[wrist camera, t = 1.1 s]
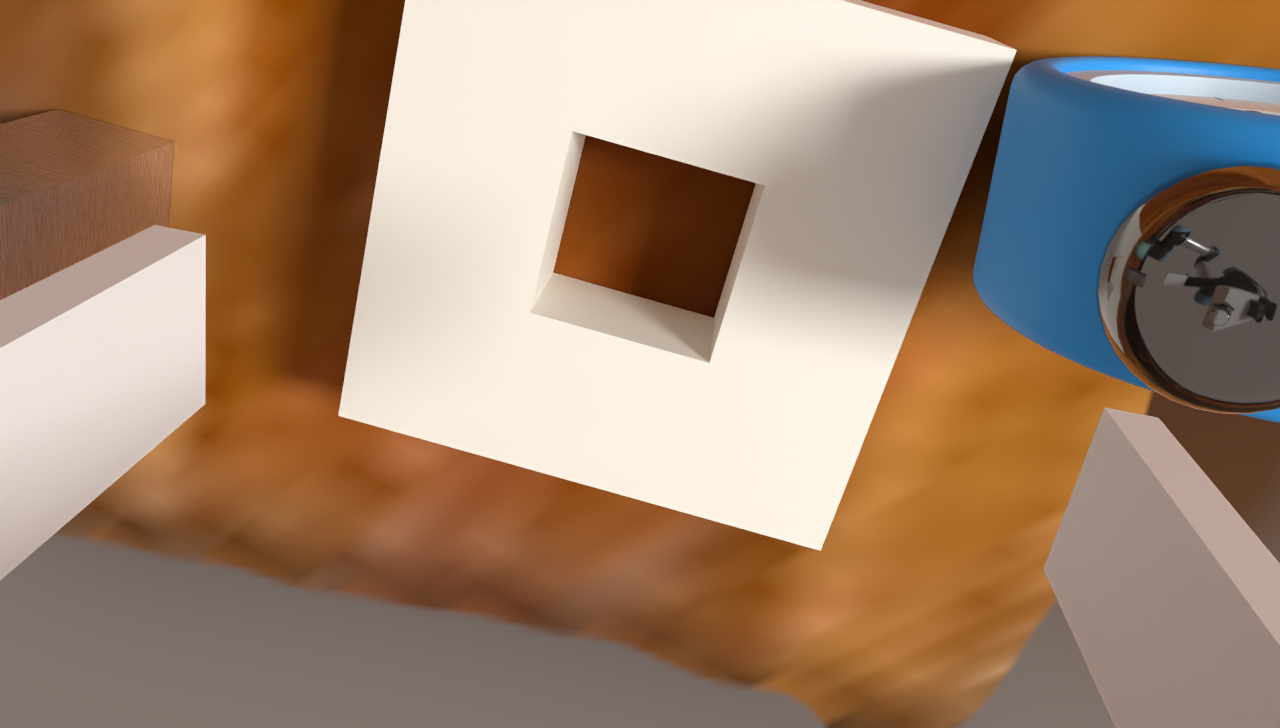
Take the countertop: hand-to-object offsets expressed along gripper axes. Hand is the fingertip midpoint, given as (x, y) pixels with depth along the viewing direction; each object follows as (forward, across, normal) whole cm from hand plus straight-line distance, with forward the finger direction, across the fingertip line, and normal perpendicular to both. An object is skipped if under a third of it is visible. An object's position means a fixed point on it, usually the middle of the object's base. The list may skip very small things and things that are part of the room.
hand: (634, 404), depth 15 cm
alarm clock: (+20, +14, +2) cm, 24 cm away
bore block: (+19, -1, -2) cm, 20 cm away
